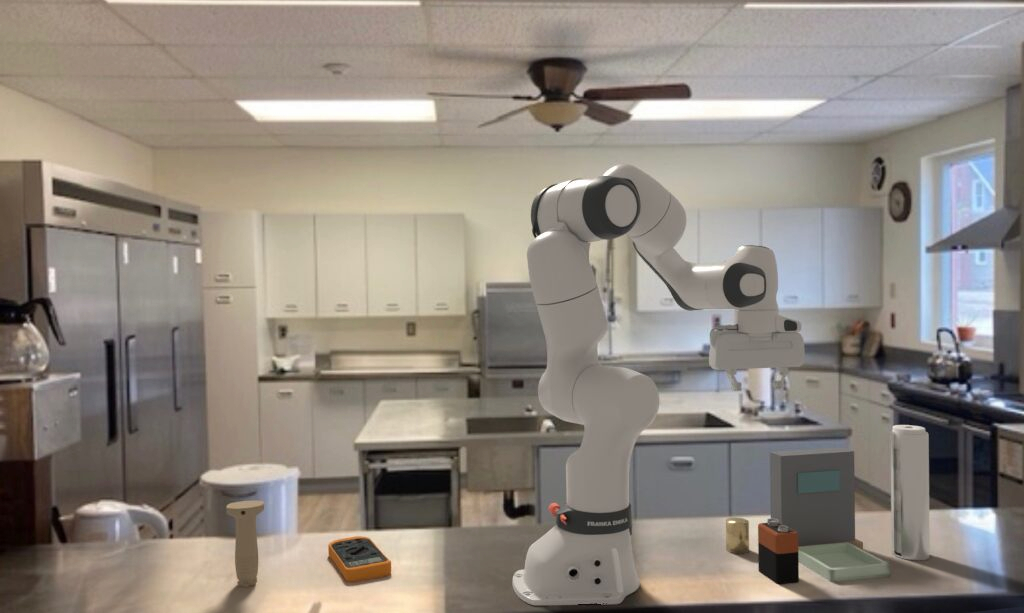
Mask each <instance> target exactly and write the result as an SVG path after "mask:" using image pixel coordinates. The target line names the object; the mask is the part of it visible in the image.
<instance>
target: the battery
mask: <svg viewBox="0 0 1024 613" xmlns="http://www.w3.org/2000/svg"><path fill="white" fill-rule="evenodd" d="M757 540H758V544H757V547H758V548H757V549H758V554H757V555H758V557H757V558H758V572H759V573H761V574H762V575H763V576H764V577H766V578H768V579H769V580H770V581H772V582H773V583H775V584H776V585H787V584H797V583H799V581H800V568H799V564H800V563H799V559H798V533H797V532H795V531H794V530H792V529H790V528H788V527H787V526H785V525H783V524H781V523H779V522H778V520H777V519H773V518H771V517H770V518H767V521H766V522H761V523H758V525H757Z"/></svg>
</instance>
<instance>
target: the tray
mask: <svg viewBox="0 0 1024 613" xmlns="http://www.w3.org/2000/svg"><path fill="white" fill-rule="evenodd" d="M798 559H799V564H801V565H803V566H804V567H806V568H807V569H809V570H811V571H812V572H814V573H815V574H818V575H819V576H820V577H822V578H824V579H825V580H827V581H829V582H830V583H831V582H842V581H851V580H853V581H854V580H862V579H871V578H872V579H873V578H882V577H884V578H885V577H891V574H892V572H891V569H892V568H891V563H890V562H887V561H885V560H884V559H881V558H879V557H877V556H875V555H874V554H872V553H869V552H867V551H866V550H864V549H863V550H862V549H860V548H858V547H856V546H854V545H852V544H851V543H849V542H845V543H834V544H823V545H812V546H801V547H798Z"/></svg>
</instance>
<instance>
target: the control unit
mask: <svg viewBox="0 0 1024 613" xmlns="http://www.w3.org/2000/svg"><path fill="white" fill-rule="evenodd" d="M769 476H770V477H769V480H770V481H769V482H770V483H769V485H770V488H769V490H770V492H769V493H770V497H769V498H770V499H769V500H770V502H769V503H770V519H771V518H773V519H777V520H778V522H779V523H781V524H783V525H785V526H787V527H788V528H790V529H792V530H794V531H795V532H797V533H798V547H801V546H812V545H823V544H834V543H845V542H849V543H851V544H852V545H854V546H856V547H858V548H860V549H862V550H864V542H863V541H861V540H859V539H857V538H856V509H855V508H856V507H855V506H856V504H855V503H856V502H855V501H856V498H855V497H856V495H855V494H856V492H855V491H856V488H855V487H856V486H855V485H856V483H855V478H856V477H855V451H854V450H851V449H848V448H846V447H840V446H839V447H838V446H837V447H826V448H825V447H824V448H811V449H810V448H809V449H796V450H795V449H794V450H782V451H781V450H778V451H770V452H769Z"/></svg>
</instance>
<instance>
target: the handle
mask: <svg viewBox="0 0 1024 613" xmlns="http://www.w3.org/2000/svg"><path fill="white" fill-rule="evenodd" d="M225 509H226V515H228V516H229V517H230V516H231V517H233V518H234V519H235V547H234V548H235V549H234V550H235V551H234V566H235V574H236V578H237V580H238V581H237V582H236V583H237V587H243V588H248V587H250V586H256V584H257V582H258V574H259V572H258V571H259V547H258V535H257V524H256V519H257V516H259V514H261V513H262V512H263V511H264V510H265V502H264V500H242V501H235V502H230V503H228V504H227V505H226V508H225Z"/></svg>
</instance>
